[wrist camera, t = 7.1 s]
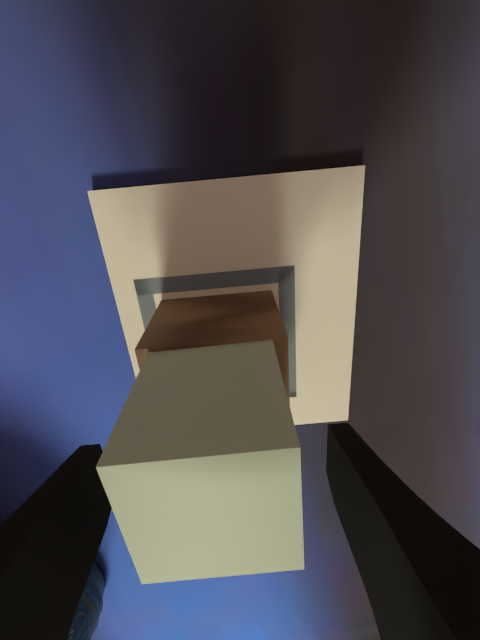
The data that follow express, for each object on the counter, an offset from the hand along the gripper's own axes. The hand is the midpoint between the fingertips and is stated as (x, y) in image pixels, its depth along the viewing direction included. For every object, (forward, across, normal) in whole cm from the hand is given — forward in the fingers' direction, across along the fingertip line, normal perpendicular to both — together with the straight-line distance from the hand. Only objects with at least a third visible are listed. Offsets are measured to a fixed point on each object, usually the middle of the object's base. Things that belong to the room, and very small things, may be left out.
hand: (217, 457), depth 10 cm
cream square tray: (+8, -1, -1) cm, 8 cm away
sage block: (+3, 0, 0) cm, 3 cm away
